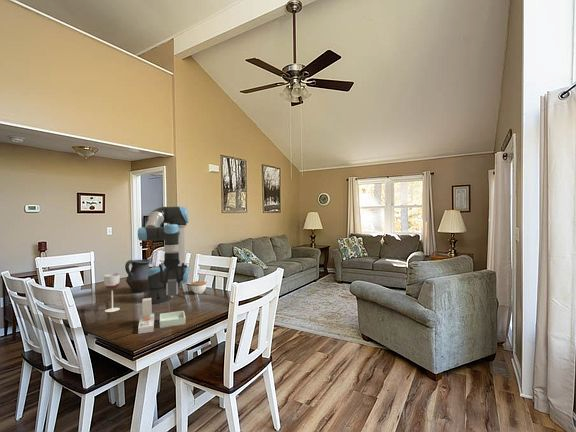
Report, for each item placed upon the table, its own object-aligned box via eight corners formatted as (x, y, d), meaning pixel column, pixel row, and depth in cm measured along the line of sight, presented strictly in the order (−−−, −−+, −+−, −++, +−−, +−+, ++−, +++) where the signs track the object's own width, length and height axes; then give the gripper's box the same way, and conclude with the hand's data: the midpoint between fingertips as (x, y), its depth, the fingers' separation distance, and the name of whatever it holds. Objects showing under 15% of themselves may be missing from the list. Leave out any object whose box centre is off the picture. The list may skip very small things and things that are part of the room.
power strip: (141, 316, 177) (141, 309, 177) (154, 315, 179) (154, 308, 179) (138, 333, 153) (138, 325, 153) (153, 331, 155) (153, 323, 155)
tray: (159, 328, 160) (159, 321, 160) (159, 319, 172) (159, 313, 172) (185, 324, 165) (185, 318, 165) (184, 316, 177) (183, 310, 177)
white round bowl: (193, 291, 232) (193, 279, 232) (207, 290, 233) (207, 278, 233) (189, 295, 221) (189, 282, 221) (204, 294, 222) (204, 282, 222)
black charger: (167, 296, 169) (167, 279, 169) (176, 295, 171) (175, 278, 171) (168, 298, 165) (167, 281, 164) (176, 297, 166) (176, 280, 166)
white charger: (143, 315, 171) (142, 298, 170) (151, 314, 172) (151, 297, 172) (142, 318, 166) (142, 301, 166) (151, 317, 168) (151, 300, 168)
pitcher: (161, 289, 236) (160, 258, 236) (134, 296, 218) (133, 262, 217) (145, 286, 247) (145, 255, 247) (118, 292, 229) (118, 259, 228)
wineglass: (103, 313, 183) (103, 277, 183) (104, 308, 192) (104, 274, 191) (120, 310, 187) (119, 275, 187) (120, 306, 196) (120, 272, 195)
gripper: (154, 253, 161) (154, 297, 161) (188, 252, 167) (189, 293, 168) (154, 252, 167) (155, 294, 168) (187, 250, 174) (188, 290, 175)
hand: (172, 293), depth 168 cm, fingers closed on black charger, 4 cm apart
